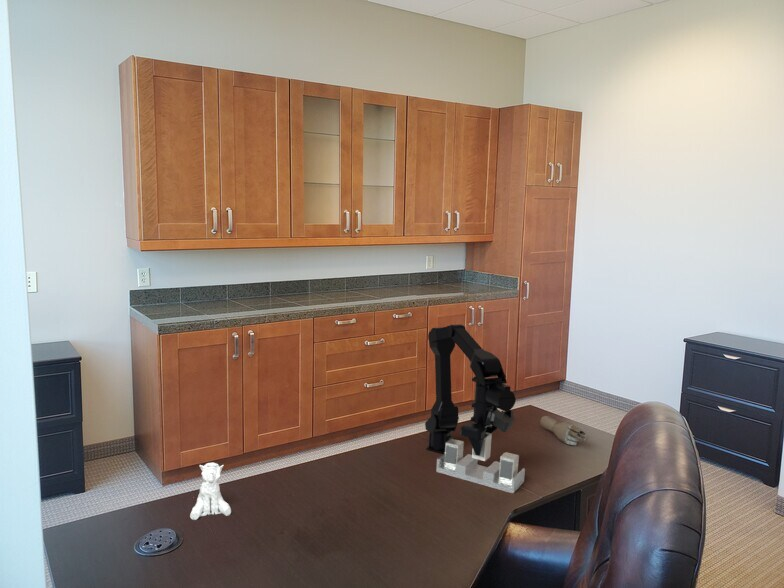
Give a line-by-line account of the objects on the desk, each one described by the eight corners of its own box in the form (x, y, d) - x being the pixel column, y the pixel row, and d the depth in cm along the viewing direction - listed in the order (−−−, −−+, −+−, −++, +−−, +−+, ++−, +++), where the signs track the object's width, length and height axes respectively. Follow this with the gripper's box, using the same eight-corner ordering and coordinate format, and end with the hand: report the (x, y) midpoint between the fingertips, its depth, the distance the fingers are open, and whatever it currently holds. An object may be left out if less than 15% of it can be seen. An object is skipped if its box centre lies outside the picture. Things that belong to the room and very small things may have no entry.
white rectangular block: (471, 458, 175) (472, 435, 174) (477, 453, 179) (478, 430, 178) (484, 461, 173) (485, 438, 172) (490, 456, 177) (491, 433, 176)
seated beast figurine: (190, 521, 144) (190, 473, 143) (188, 504, 152) (188, 459, 151) (231, 515, 148) (231, 468, 146) (227, 500, 156) (227, 455, 154)
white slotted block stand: (436, 471, 179) (438, 444, 178) (449, 461, 187) (451, 435, 186) (513, 493, 167) (515, 463, 166) (523, 482, 175) (526, 453, 174)
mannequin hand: (555, 434, 223) (589, 455, 198) (537, 429, 221) (568, 449, 197) (561, 415, 223) (595, 433, 198) (543, 410, 221) (575, 428, 197)
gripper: (499, 414, 162) (495, 470, 164) (522, 398, 178) (518, 449, 180) (461, 406, 167) (457, 460, 170) (486, 390, 183) (483, 440, 185)
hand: (480, 452), depth 176 cm, fingers closed on white rectangular block, 4 cm apart
